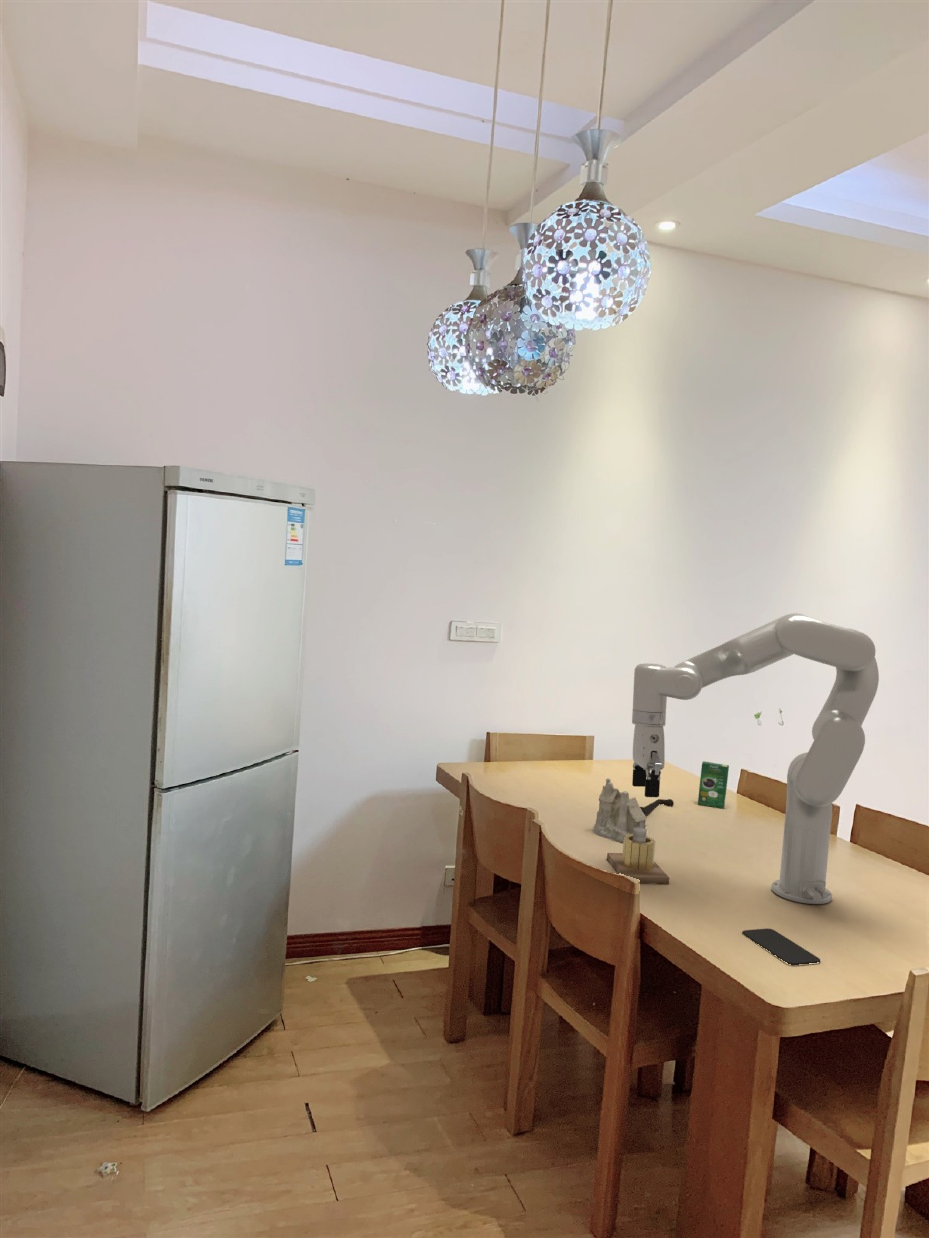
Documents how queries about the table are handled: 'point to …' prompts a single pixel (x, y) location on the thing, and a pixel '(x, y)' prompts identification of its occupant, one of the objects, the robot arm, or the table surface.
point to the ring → (638, 853)
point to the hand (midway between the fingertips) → (645, 791)
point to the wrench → (650, 807)
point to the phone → (781, 946)
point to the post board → (643, 875)
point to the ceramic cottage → (617, 814)
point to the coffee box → (713, 784)
